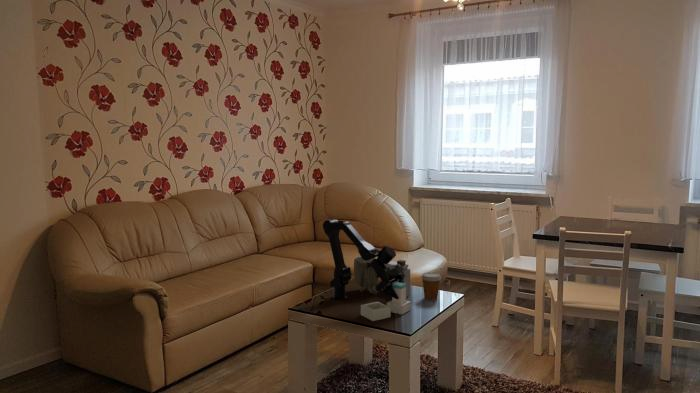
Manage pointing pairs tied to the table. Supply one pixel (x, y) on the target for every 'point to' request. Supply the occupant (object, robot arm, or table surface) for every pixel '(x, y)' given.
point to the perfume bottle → (407, 275)
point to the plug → (399, 293)
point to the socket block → (375, 311)
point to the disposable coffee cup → (431, 285)
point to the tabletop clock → (364, 274)
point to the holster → (399, 307)
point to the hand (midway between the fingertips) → (401, 297)
